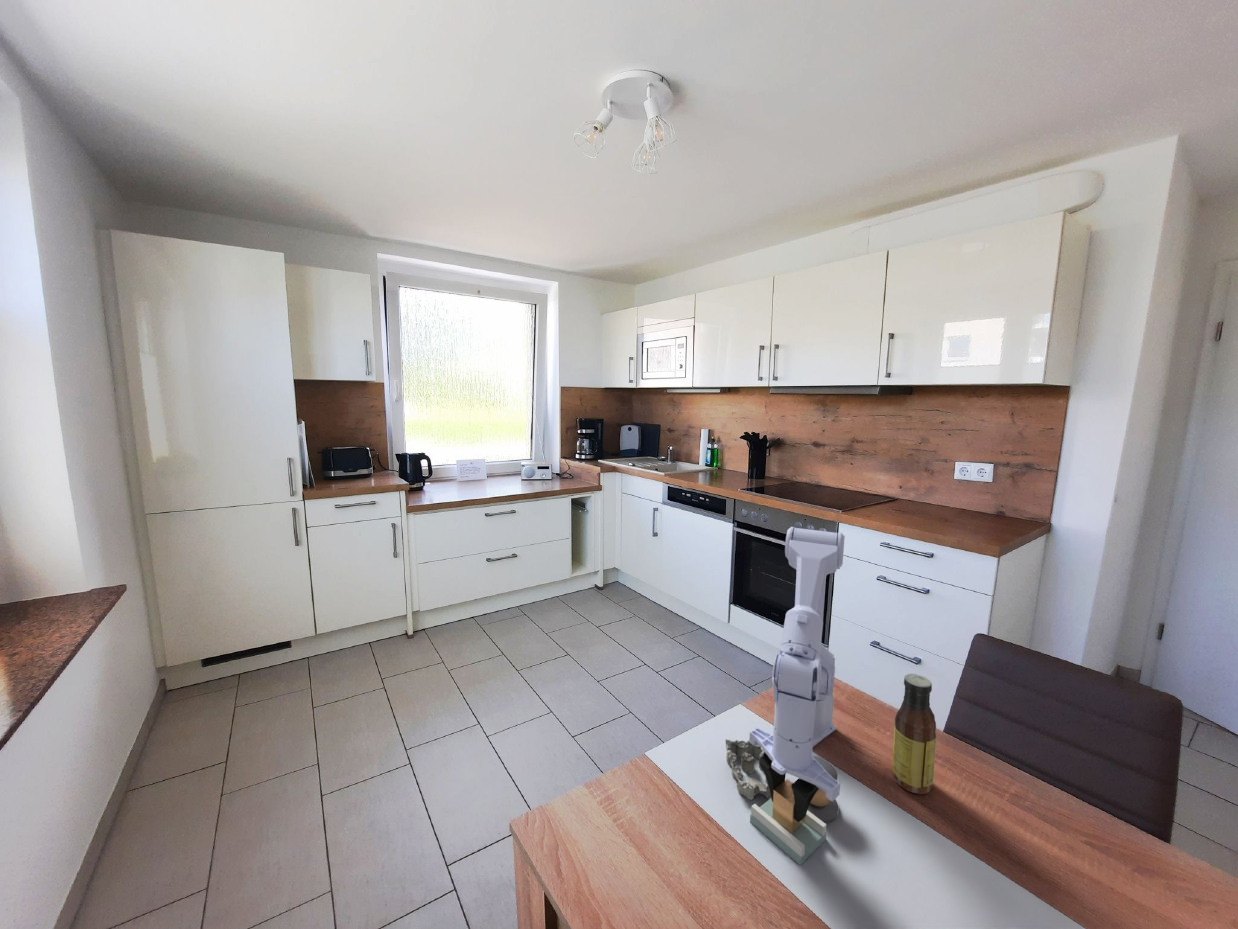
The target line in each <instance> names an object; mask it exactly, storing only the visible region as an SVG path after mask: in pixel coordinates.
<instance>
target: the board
mask: <svg viewBox="0 0 1238 929" xmlns="http://www.w3.org/2000/svg"><path fill="white" fill-rule="evenodd" d="M772 815H773V802H772V798H768V800H767V801H766V802H764V803H763V804H762V805H761V806H758V805H757V804H756V803H754V804H752V805H751V807H750V816H749V822H750V823H751V824H752V825H753V826H754V827H755V828H757V829H758V831H760V832H761V833H762V834H763V835H765V836H766V837H767V838H768V839H770V841H771V842H773V844H775V845H776V846H777V847H779V849H781V850H782V851H783V852H784V853H785V854H786V855H787V856H789V857H790V858H791V859H792V860H793V861H794V862H796V863H797V865H799V866H801V865H802V864H803V863H804V862H805V861H806V860H807V859H808V858H809V857H810V856H811V855H812V854H813V853H814V852H815V851H816V850H817V849H818V848H819V847H820V846H821V844H823V842H825V841H826V840H827V823H824V822H822V821H821V820H820V819H818V818H817V817H816V816H815V815H813V814H812V813H811V812H809V811H808V810H807V813H806V816H805V822H804V823H803V824H802V825H801V826H800V827H799V828H798V829H796V830H795V831H794V832H793V833H792V834H791V833H790V832H789V831H788V830H787V829H785V828H784V827H783V826H782V825H781V824H779V823H778V822H777V821H776V820H775V819H773V818H772Z"/></svg>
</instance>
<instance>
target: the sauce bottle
mask: <svg viewBox="0 0 1238 929" xmlns="http://www.w3.org/2000/svg"><path fill="white" fill-rule="evenodd" d="M903 685H904V694H903V701H902V702H901V705H900V708H899V709H898V710H897V712H896V714H895V716H894V727H893V728H894V729H893V730H894V731H893V747H892V762H891V763H892V765H891V768H892V769H891V770H892V775H893V779H894V780H895V782H896V783H897V784H898V785H899V786H900V787H901V788H903V789H904V790H906V791H907V792H910V793H914V794H916V795H917V794H918V795H927V794H929V792H931V790H932V789H933V783H934V775H935V758H936V743H937V742H936V741H937V733H936V731H937V724H936V723H937V722H936V718H935V717H936V716H935V713H933V710H932V707H931V702H930V695H931V694H930V693H931V692H932V691H933V689H932V688H933V685H932V682H931V680H930V679H929V678H927V677H926V676H924V675H920V674H917V673H907V674H906V675H904V680H903Z"/></svg>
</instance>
